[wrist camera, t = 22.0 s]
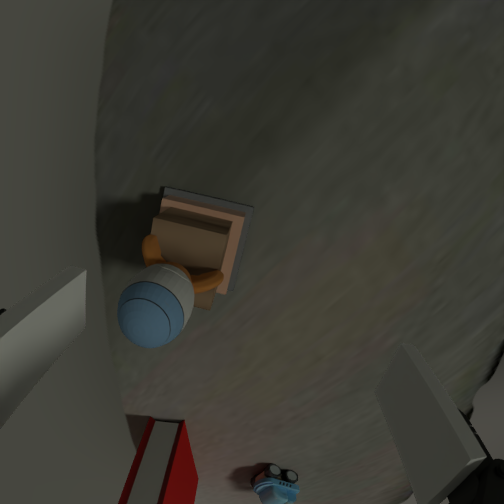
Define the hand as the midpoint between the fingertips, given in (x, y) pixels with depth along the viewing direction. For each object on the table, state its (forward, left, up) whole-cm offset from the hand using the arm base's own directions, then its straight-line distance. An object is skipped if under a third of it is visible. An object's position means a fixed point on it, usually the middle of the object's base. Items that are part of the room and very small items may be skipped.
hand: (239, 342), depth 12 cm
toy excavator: (+66, +24, -39) cm, 80 cm away
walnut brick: (+8, -7, -34) cm, 35 cm away
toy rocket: (+8, -8, -26) cm, 28 cm away
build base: (+8, -7, -39) cm, 40 cm away
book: (+63, -4, -39) cm, 75 cm away
